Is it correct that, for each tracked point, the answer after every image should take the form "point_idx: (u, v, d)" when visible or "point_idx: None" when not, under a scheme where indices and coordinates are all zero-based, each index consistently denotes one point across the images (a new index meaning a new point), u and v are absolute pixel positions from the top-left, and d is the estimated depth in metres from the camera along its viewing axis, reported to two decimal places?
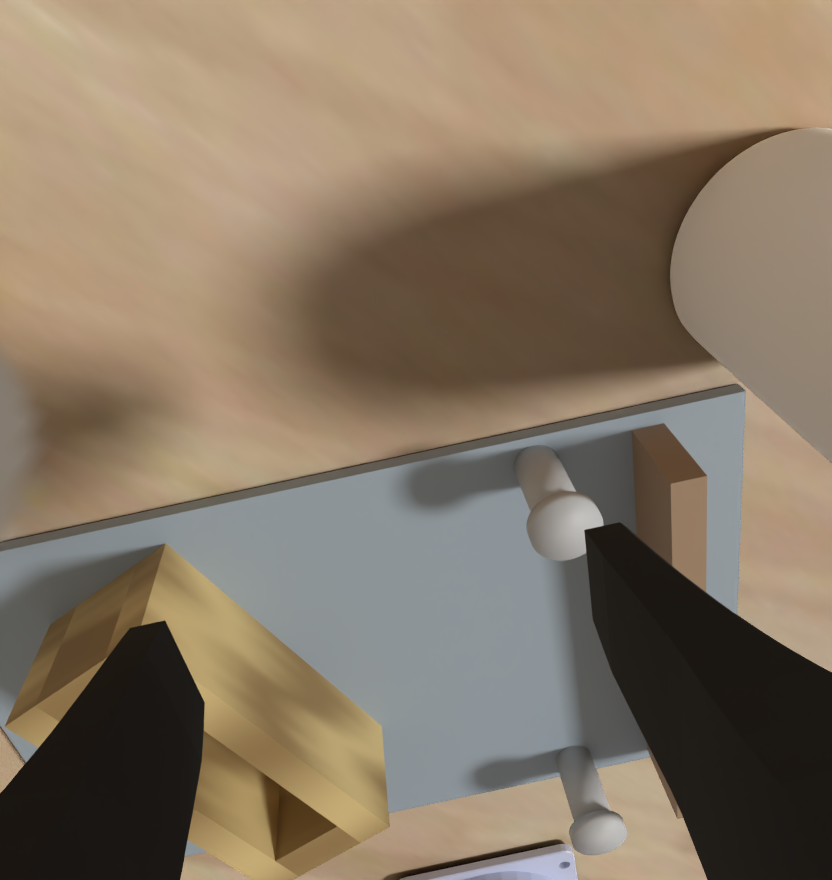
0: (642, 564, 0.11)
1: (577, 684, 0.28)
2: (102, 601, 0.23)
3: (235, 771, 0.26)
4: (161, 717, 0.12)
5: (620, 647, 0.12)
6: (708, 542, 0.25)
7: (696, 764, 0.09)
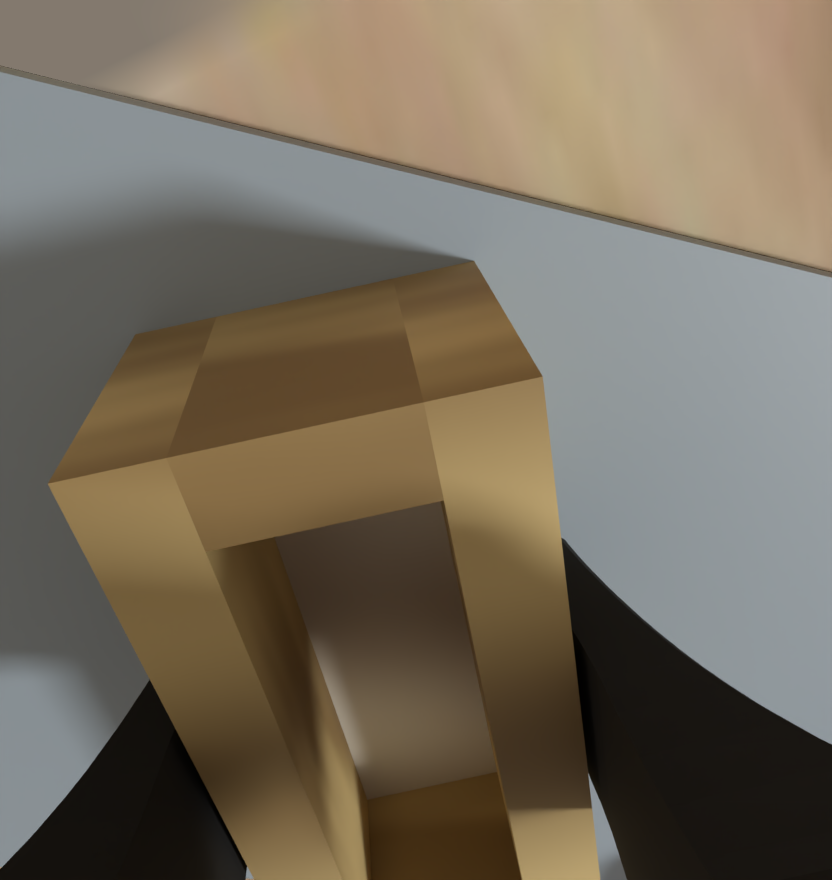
0: (572, 579, 0.11)
1: None
2: (313, 316, 0.10)
3: (341, 759, 0.13)
4: None
5: None
6: None
7: (615, 781, 0.09)
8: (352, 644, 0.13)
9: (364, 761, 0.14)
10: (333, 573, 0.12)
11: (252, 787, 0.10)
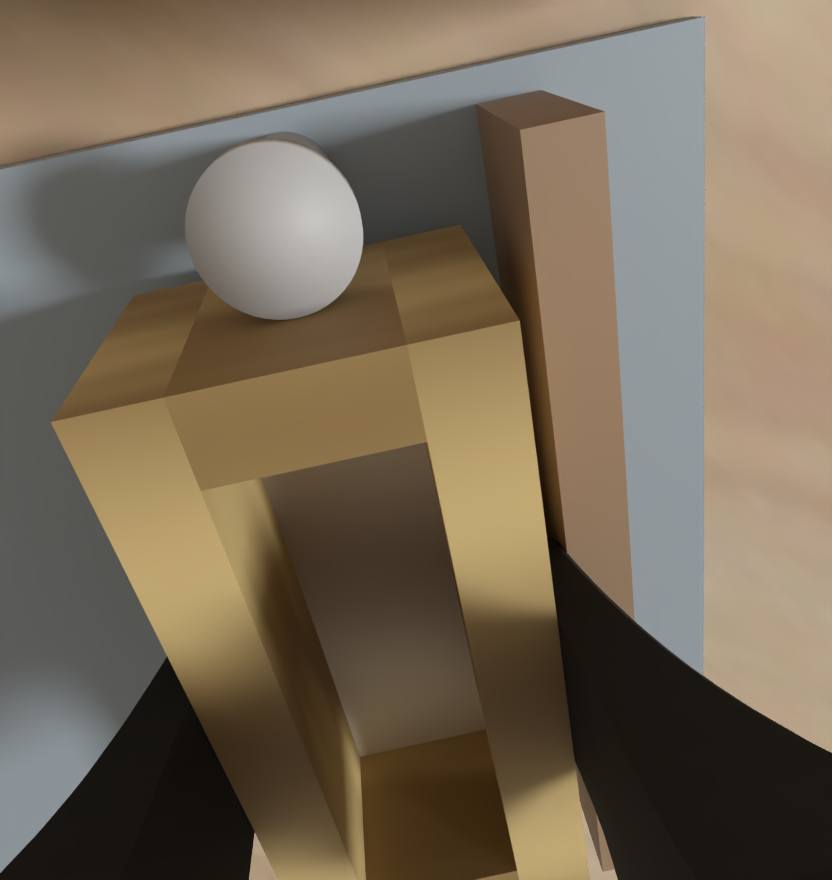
0: (564, 581, 0.11)
1: None
2: None
3: (334, 712, 0.14)
4: None
5: None
6: (645, 369, 0.14)
7: (606, 783, 0.09)
8: (343, 600, 0.13)
9: (356, 718, 0.15)
10: (325, 529, 0.13)
11: (246, 727, 0.10)
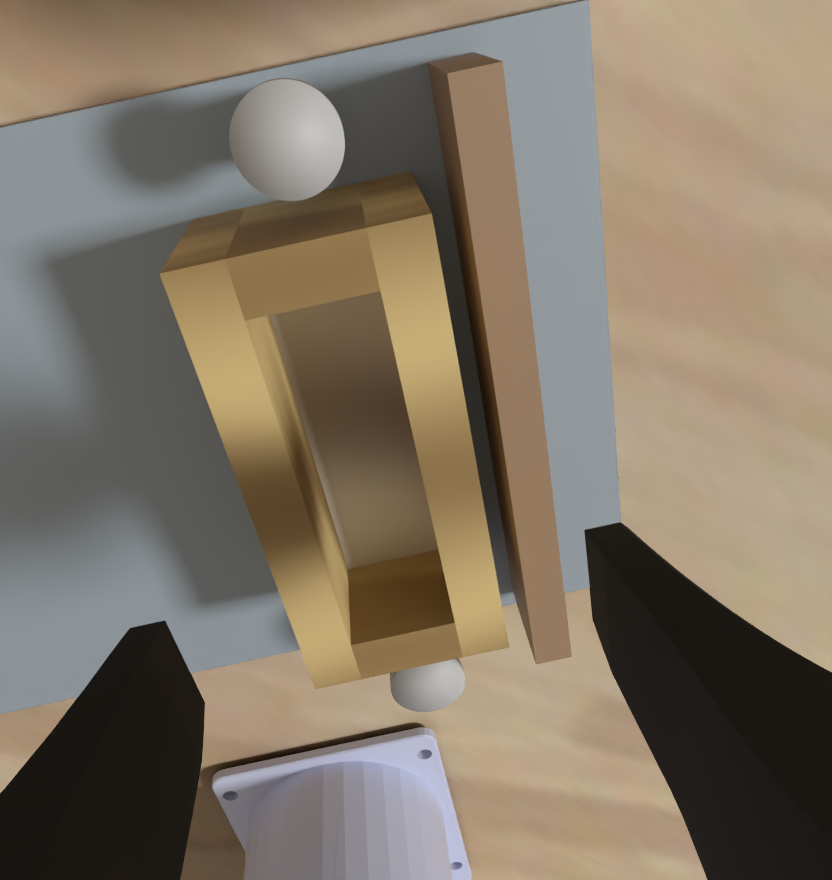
0: (642, 564, 0.11)
1: None
2: (307, 202, 0.16)
3: (328, 521, 0.19)
4: (161, 716, 0.12)
5: (620, 646, 0.12)
6: (560, 266, 0.19)
7: (696, 764, 0.09)
8: (335, 440, 0.19)
9: (345, 536, 0.21)
10: (321, 384, 0.18)
11: (269, 494, 0.16)
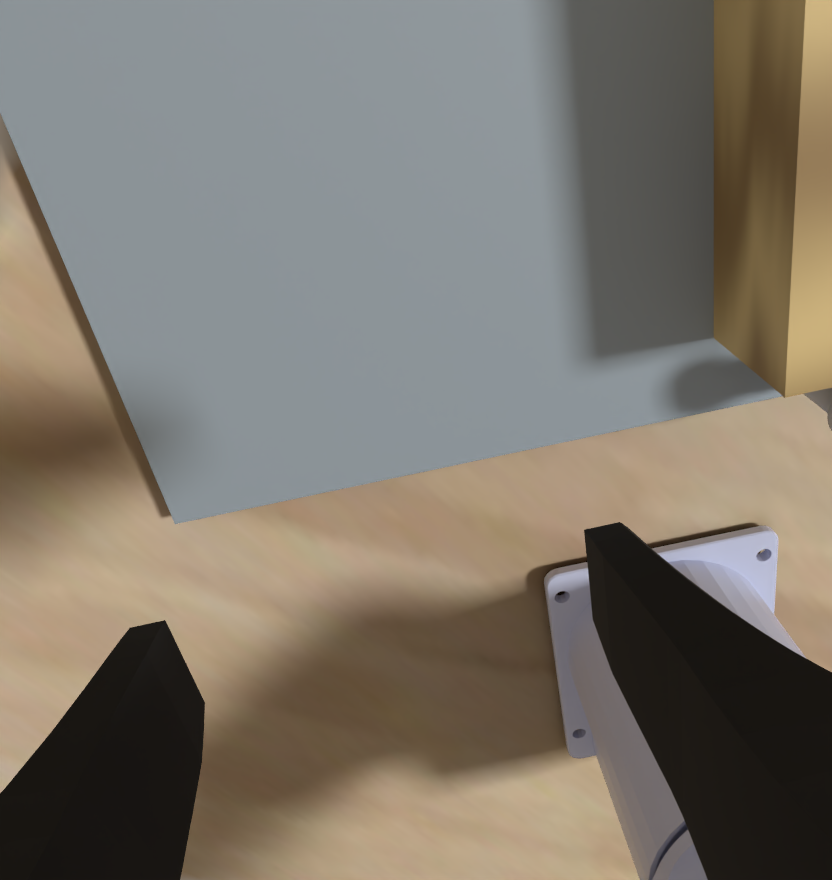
0: (642, 564, 0.11)
1: None
2: None
3: None
4: (162, 716, 0.12)
5: (620, 646, 0.12)
6: None
7: (696, 764, 0.09)
8: None
9: None
10: None
11: (824, 135, 0.16)
